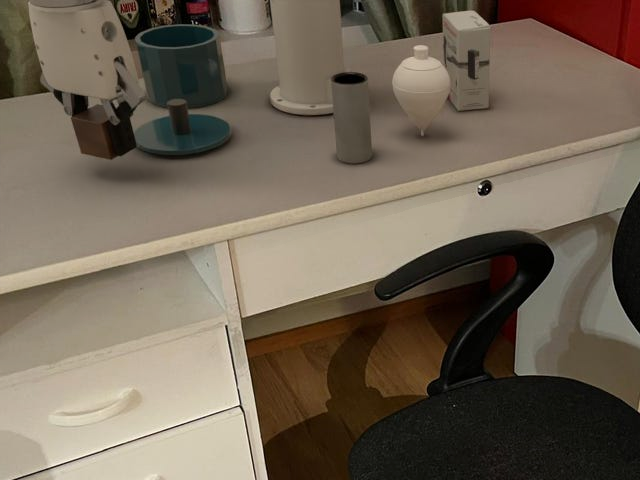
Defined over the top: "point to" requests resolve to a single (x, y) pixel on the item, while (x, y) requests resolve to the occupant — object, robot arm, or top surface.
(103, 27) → the robot arm
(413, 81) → the spinning top
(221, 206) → the top surface
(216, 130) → the lid
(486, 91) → the ink box
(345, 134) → the gray cylinder
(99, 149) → the block
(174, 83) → the pot
